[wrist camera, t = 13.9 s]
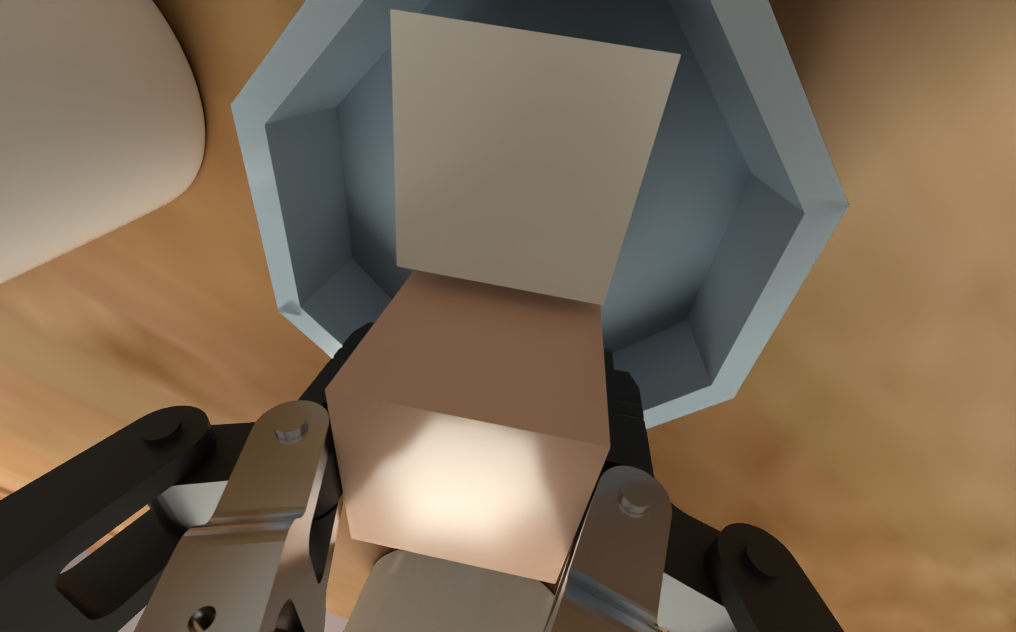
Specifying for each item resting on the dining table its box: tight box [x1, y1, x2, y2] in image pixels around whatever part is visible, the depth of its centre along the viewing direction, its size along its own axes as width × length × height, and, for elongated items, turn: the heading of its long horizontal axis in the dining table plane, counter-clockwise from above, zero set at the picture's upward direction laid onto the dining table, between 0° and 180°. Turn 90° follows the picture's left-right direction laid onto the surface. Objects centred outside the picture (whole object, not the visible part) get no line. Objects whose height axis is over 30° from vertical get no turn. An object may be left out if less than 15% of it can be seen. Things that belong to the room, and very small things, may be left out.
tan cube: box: [325, 270, 610, 584], centre depth 9 cm, size 4×4×4 cm
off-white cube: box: [390, 9, 681, 305], centre depth 9 cm, size 4×4×4 cm
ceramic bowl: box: [230, 0, 850, 429], centre depth 12 cm, size 13×13×4 cm
